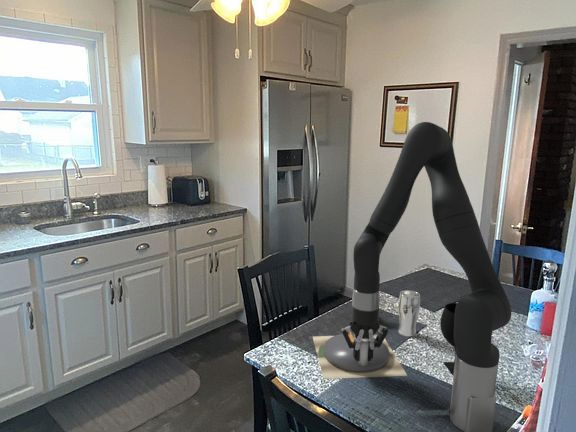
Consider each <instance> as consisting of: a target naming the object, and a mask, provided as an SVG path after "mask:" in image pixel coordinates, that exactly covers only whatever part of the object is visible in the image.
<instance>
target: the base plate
mask: <svg viewBox="0 0 576 432" xmlns="http://www.w3.org/2000/svg"><path fill="white" fill-rule="evenodd" d="M377 335H378V333H377V334H374V336H373V337H374V338H376V337H377ZM334 336H335V335H323V336H322V335H321V336H320V335H319V336H317V335H315V336H312V340H313V344H314V347H315V351H316V355H317V359H318V362H319V368H320V370H321V373H322V377H323V378H322V379H324V380H336V379H359V378H360V379H361V378H365V379H366V378H386V377H387V378H389V377H391V378H392V377H408V374H407V373H406V371H405V369H404V367H403V366H402V364H401V363H400V361H399V359H398V358H397V356H396V354H395V353H394V351H393V349H392V348H391V346H390V345H389V343H388V341H387V339H386V338H385V339H384V341H383V343H384V344H385V345H386V346H387V348H388V349H389V361H388V363H387V364H386V365H385V366H384V367H383V368H381V369H379V370H376V371H371V372H352V371H347V370H344V369H341V368H338V367H336V366H334V365H333V364H331V363H330V362H329V361H328V360H327V359H326V358H325V356H324V344H325V342H326V341H327V340H328V339H330V338H331V337H334Z"/></svg>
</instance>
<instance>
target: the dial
mask: <svg viewBox="0 0 576 432" xmlns="http://www.w3.org/2000/svg"><path fill="white" fill-rule="evenodd" d="M354 335H355V334H354V333H353V332H351V331H350V334H349V335H348V336H349V338H350V340H351V342H354ZM333 336H334V337H331V338H330V339H328V340H327V341H326V342H325V344H324V356H325V358H326V359H327V360H328V361H329V362H330V363H331V364H333V365H334V366H336V367H338V368H341V369H344V370H347V371H352V372H371V371H376V370H379V369H381V368H383V367H384V366H385V365H386V364H387V363H388V361H389V349H388V348H387V346H386V345H385V344H384V343H383V342H382V344H381V346H380V347H379V348H378V347H376V348H374V350H373V359H371V361H368V347H369V341H368V340H367V338H364V339H362V341H361V343H360V347H359V350H360V353H359V361H356V360H355V359H354V357H353V348H349V346H348V344H347V342H346V340H345V337H344V335H343V333H340V334H337V335H333ZM375 339H376V338H374V340H375Z"/></svg>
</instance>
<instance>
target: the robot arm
mask: <svg viewBox="0 0 576 432" xmlns="http://www.w3.org/2000/svg"><path fill="white" fill-rule="evenodd" d="M423 168H424V169H425V171H426V174H427V176H428V180H429V183H430V188H431V210H432V218H433V222H434V225H435V227H436V230H437V234H438V236H439V239H440V242H441V244H442V245H443V246H444V248H445V249H446V251H447V252H448V254H450V255H451V257H452V258H453V259H454V260H455V261H456V262H457V263H458V264H459V265H460V267H461V268H462V269H463V271H464V273H465V276H466V277H467V280H468V283H469V286H470V291H471V292H470V293H469V294H465V295H463V296H461V297H460V298H458V301H457V302H456V303H457V305H456V309H455V317H454V343H455V346H456V357H455V356H454V360H455V366H454V376H453V375H452V376H453V377H452V385H451V386H452V387H451V396H450V407H449V419H450V421H451V423H452V424H453V425H454V426H455V427H456V428H458V429H459V430H461V431H463V432H493V428H494V421H495V411H496V404H497V397H496V396H495V395H496V387H497V386H496V385H497V379H498V371H499V364H500V357H501V356H500V355H501V353H500V350H499V348H498V347H497V345H495V344H494V343H492V338H493V337H492V336H493V332H494V331H497V330H500V329H501V328H503V327H505V326H507V325H508V324H509V323H510V321H511V318H512V307H511V304H510V301H509V298H508V296H507V293H506V291H505V290H504V287H503V285H502V283H501V281H500V279H499V276H498V274H497V272H496V270H495V268H494V265H493V263H492V260H491V258H490V255H489V251H488V248H487V245H486V243H485V241H484V238H483V235H482V232H481V228H480V225H479V221H478V219H477V216H476V213H475V210H474V208H473V205H472V202H471V200H470V198H469V194H468V192H467V190H466V186H465V185H464V182H463V180H462V178H461V176H460V172H459V168H458V164H457V160H456V155H455V151H454V146H453V141H452V138H451V135H450V134H449V133H448V131H447V130H446V129H444V128H443V127H442V126H439V125H438V124H435V123H433V122H429V121H421V122H418V123H417V124H415V125H413V126H412V127H411V128H410V129H409V131H408V133H407V135H406V137H405V140H404V143H403V145H402V148H401V151H400V154H399V156H398V159H397V162H396V163H395V166H394V170H393V171H392V175H391V176H390V179H389V182H388V183H387V186H386V187H385V189H384V191H383V194H382V195H381V197H380V199H379V201H378V202H377V204H376V207H375V208H374V210H373V212H372V214H371V216H370V218H369V221H368V223H367V225H365V228H364V230H363V231H362V233H361V234H360V236H359V238H358V240H357V241H356V242H355V245H354V247H353V254H352V255H353V268H354V269H353V270H354V277H353V290H352V299H351V321H350V323H349V325H347V326H346V327H345V326H342V327H340V330H341V334H343V335H344V337H345V340H346V342H347V344H348V346H349V348H353V357H354V359H355V360H356V361H359V353H360V350H359V347H360V343H361V341H362V339H364V338H367V340H368V341H369V347H368V361H371V359H373V350H374V348H376V347H378V348H379V347H380V346H381V344H382V342H383V341H384V339H386V336H387V335H388V333H389V330H388V328H387V327H386V325H381V324H380V322H379V319H380V318H379V317H380V316H379V315H380V299H381V297H380V283H381V281H380V280H381V274H380V271H379V267H380V258H381V253H382V251H383V248H384V247H385V245H386V242H387V241H388V239H389V237H390V235H391V234H392V233H393V231H394V230H395V229H396V227H397V226H398V225H399V222H400V220H401V218H402V217H403V216H404V214H405V212H406V209H407V207H408V204H409V202H410V198H411V195H412V191H413V187H414V184H415V182H416V180H417V179H418V176H419V174H420V173H421V171H422V170H423ZM351 331H352V333H354V334H355V335H354V342H351V340H350V338H349V336H348V335H349V334H350V332H351ZM377 331H378V333H377ZM376 333H377V334H378V335H377V334H376ZM374 335H377V337H376V339H375V340H374V337H373V336H374Z"/></svg>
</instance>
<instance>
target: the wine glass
mask: <svg viewBox="0 0 576 432" xmlns="http://www.w3.org/2000/svg"><path fill="white" fill-rule="evenodd" d="M456 305H457V302H450V303H447V304H445V305H444V308H443V310H442V312H441V317H440V320H439V321H440V331H441V334H442V336H443V338H444V339H445V340H446V341H447V342H448V344H449V345H450V346H452V347H453V348H454V358H455V357H456V346H455V343H454V317H455V309H456ZM442 363H443V365H444V366H445V367H446V369H447V370H448V371H449V372H450V374H451V375H452V376H454V366H455V359H454V361H443V362H442Z"/></svg>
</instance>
